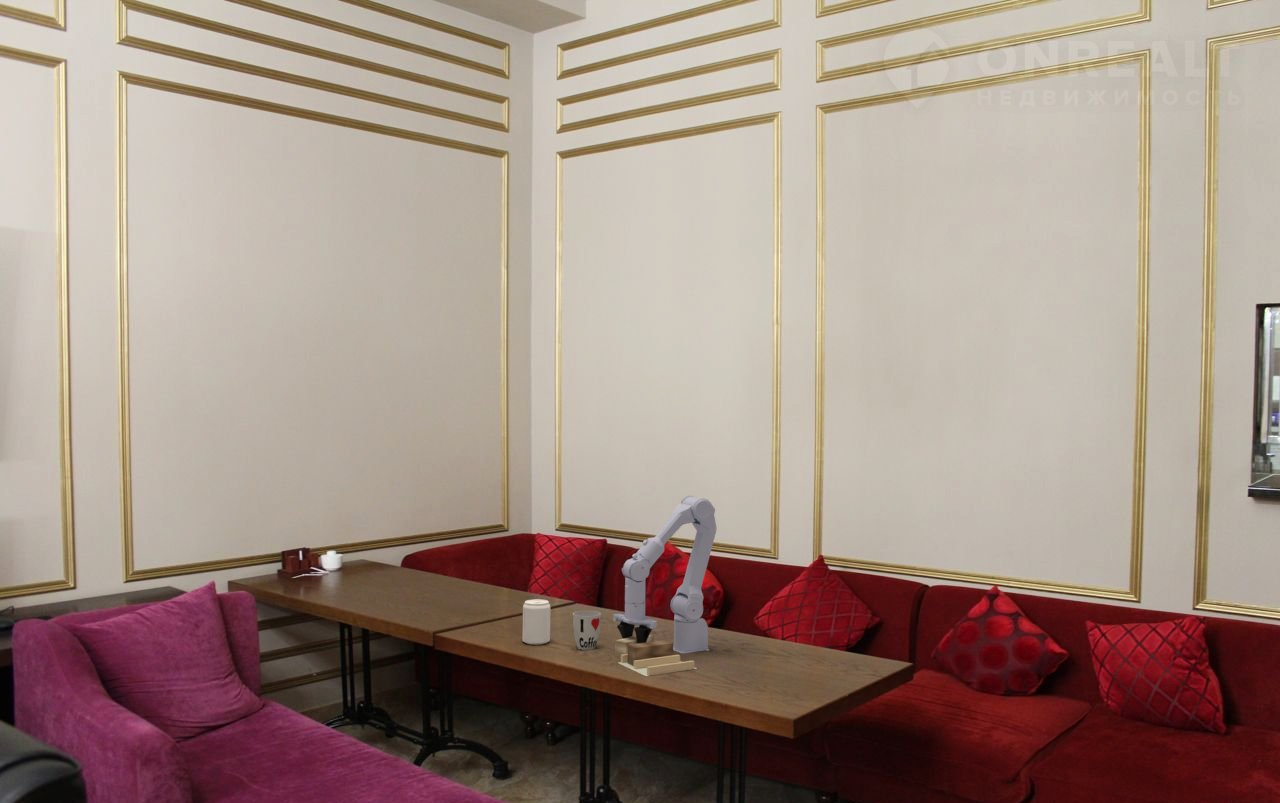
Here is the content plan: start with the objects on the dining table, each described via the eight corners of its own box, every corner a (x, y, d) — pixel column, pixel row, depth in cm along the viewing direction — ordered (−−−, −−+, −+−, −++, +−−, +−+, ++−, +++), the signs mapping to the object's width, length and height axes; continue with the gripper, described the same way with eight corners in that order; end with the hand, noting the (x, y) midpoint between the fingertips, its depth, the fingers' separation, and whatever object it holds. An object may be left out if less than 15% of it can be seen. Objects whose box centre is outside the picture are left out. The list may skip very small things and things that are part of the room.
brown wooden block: (665, 658, 270) (665, 640, 270) (673, 661, 266) (673, 643, 266) (627, 663, 264) (627, 644, 264) (634, 666, 260) (635, 648, 260)
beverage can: (517, 643, 287) (517, 602, 287) (532, 637, 294) (533, 597, 294) (540, 646, 283) (540, 605, 284) (555, 641, 291) (555, 600, 291)
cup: (575, 652, 278) (575, 616, 278) (569, 645, 285) (570, 611, 286) (603, 650, 280) (603, 615, 280) (596, 644, 288) (597, 609, 288)
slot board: (667, 657, 272) (667, 648, 272) (697, 670, 259) (697, 660, 259) (617, 664, 264) (617, 655, 264) (645, 678, 251) (645, 668, 251)
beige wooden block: (642, 650, 280) (642, 633, 280) (653, 653, 278) (653, 635, 278) (614, 658, 271) (615, 640, 271) (625, 661, 269) (626, 642, 269)
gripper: (606, 600, 276) (605, 648, 276) (645, 607, 267) (645, 657, 267) (622, 597, 282) (622, 644, 282) (662, 604, 272) (661, 652, 272)
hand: (634, 650), depth 275 cm, fingers closed on beige wooden block, 4 cm apart
